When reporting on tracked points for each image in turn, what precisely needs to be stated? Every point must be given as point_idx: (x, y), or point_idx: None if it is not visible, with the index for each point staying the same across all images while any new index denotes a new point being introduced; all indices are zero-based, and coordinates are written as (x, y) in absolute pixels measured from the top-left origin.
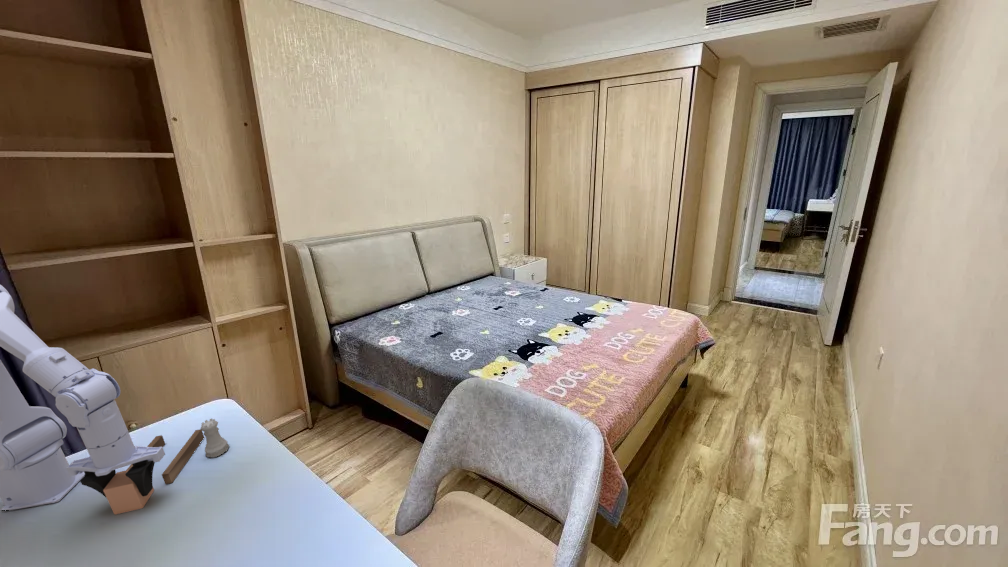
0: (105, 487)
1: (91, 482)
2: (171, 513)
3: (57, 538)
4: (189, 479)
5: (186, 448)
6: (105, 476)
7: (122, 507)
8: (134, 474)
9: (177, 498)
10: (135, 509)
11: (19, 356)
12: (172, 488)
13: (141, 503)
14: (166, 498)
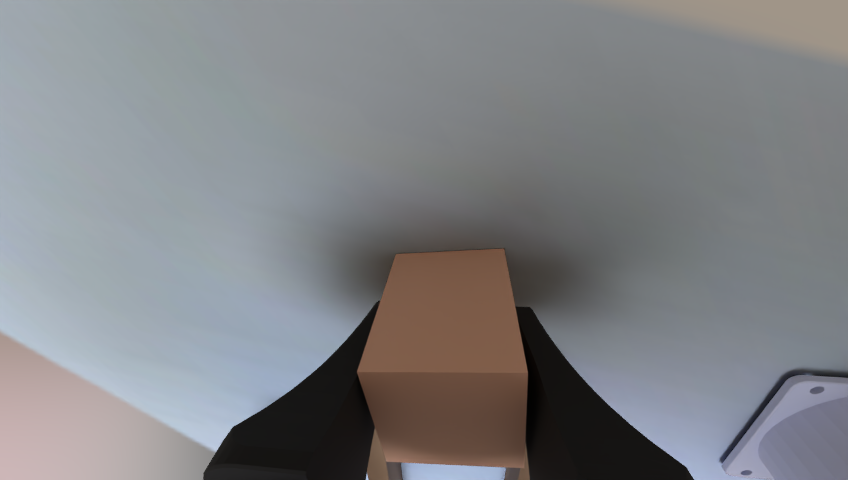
0: (525, 388)
1: (602, 469)
2: (240, 191)
3: (721, 169)
4: (306, 344)
5: (369, 473)
6: (548, 473)
7: (465, 267)
8: (247, 446)
9: (280, 267)
10: (422, 253)
11: None
12: (342, 320)
13: (391, 269)
14: (329, 278)
